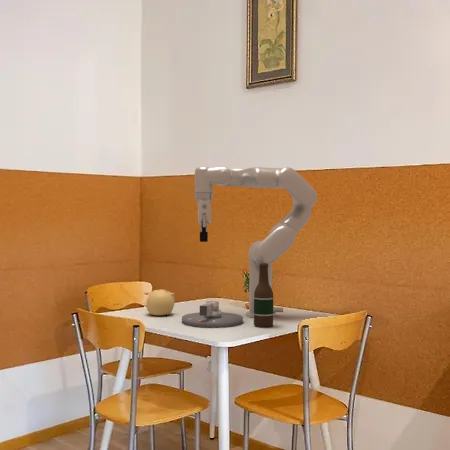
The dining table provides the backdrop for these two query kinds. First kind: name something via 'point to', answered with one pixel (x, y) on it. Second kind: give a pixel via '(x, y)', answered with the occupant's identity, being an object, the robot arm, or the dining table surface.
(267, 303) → the beer bottle
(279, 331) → the dining table surface
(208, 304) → the dial
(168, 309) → the sculpture
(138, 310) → the dining table surface
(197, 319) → the dial plate
